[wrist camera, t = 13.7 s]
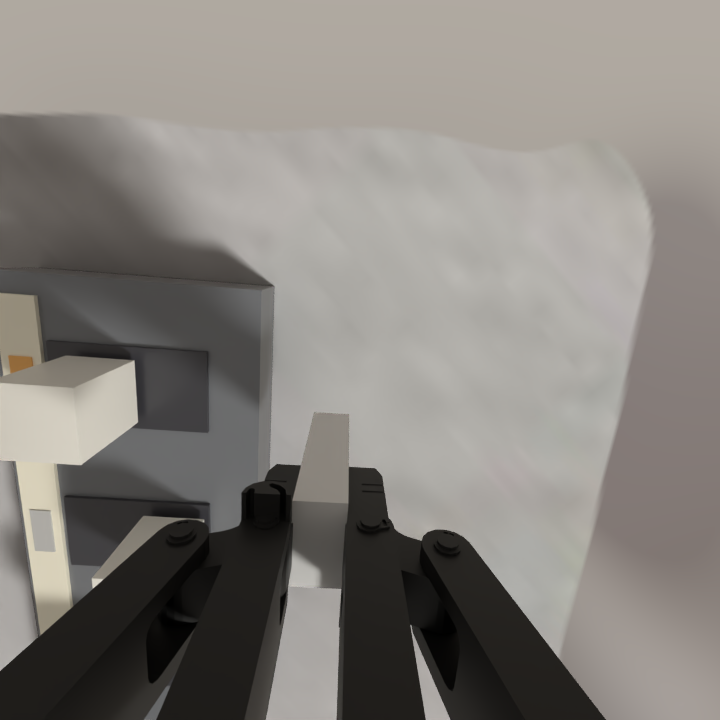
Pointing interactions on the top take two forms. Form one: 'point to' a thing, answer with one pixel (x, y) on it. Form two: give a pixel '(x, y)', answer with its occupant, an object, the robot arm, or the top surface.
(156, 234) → the top surface
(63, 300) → the switch bank
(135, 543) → the tab
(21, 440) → the tab
